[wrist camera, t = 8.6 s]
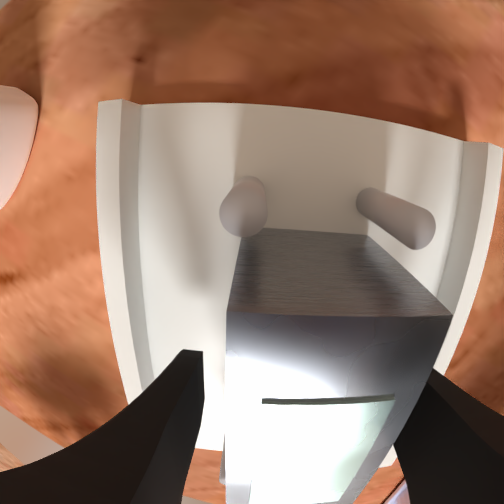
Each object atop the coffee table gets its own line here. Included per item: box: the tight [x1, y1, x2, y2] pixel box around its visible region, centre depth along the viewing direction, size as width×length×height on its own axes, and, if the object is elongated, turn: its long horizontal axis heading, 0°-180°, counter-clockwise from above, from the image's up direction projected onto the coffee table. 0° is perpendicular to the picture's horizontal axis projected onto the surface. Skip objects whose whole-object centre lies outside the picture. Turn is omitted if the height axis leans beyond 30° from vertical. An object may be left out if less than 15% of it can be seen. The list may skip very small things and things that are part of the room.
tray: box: [96, 99, 503, 485], centre depth 10 cm, size 16×13×4 cm
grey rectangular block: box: [225, 228, 453, 504], centre depth 9 cm, size 8×4×6 cm, turn 177°
